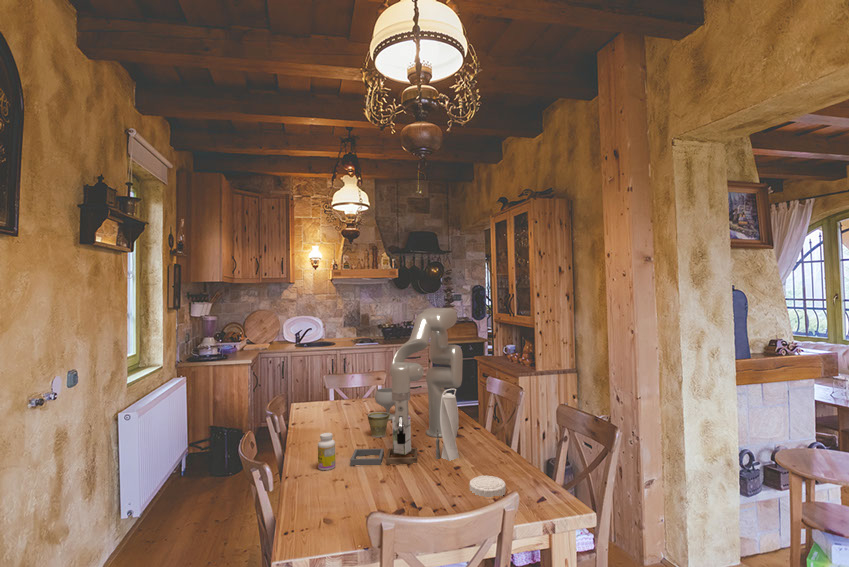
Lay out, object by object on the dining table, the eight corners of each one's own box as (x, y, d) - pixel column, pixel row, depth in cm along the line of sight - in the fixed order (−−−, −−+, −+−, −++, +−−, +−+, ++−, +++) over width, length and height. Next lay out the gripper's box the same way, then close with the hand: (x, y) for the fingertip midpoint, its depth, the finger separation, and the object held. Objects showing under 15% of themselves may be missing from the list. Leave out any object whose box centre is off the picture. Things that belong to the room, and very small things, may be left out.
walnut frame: (417, 453, 184) (417, 447, 184) (416, 464, 172) (416, 458, 172) (388, 454, 184) (388, 448, 184) (386, 465, 172) (386, 458, 172)
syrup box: (411, 450, 179) (411, 414, 180) (405, 455, 174) (404, 418, 174) (399, 449, 182) (398, 413, 182) (392, 453, 176) (391, 417, 177)
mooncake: (481, 503, 139) (481, 491, 139) (463, 488, 150) (462, 478, 150) (513, 495, 144) (512, 484, 144) (492, 482, 155) (492, 471, 155)
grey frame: (383, 454, 184) (383, 448, 184) (381, 465, 172) (381, 459, 172) (355, 455, 184) (355, 449, 184) (350, 466, 172) (350, 459, 172)
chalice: (399, 420, 235) (399, 392, 235) (373, 421, 235) (373, 392, 235) (401, 413, 249) (401, 387, 249) (376, 414, 249) (376, 387, 249)
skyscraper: (449, 454, 183) (447, 387, 184) (464, 459, 177) (462, 389, 178) (434, 460, 177) (433, 390, 178) (449, 465, 171) (448, 393, 172)
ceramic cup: (379, 440, 202) (378, 418, 203) (363, 436, 209) (363, 415, 209) (397, 433, 213) (397, 412, 213) (382, 429, 219) (381, 409, 219)
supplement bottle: (316, 466, 172) (316, 433, 173) (333, 463, 175) (333, 430, 175) (319, 472, 166) (319, 438, 167) (337, 469, 169) (336, 435, 169)
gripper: (409, 401, 170) (410, 447, 169) (410, 391, 187) (411, 433, 187) (390, 401, 170) (391, 447, 169) (393, 392, 187) (394, 434, 187)
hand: (401, 440), depth 178 cm, fingers closed on syrup box, 7 cm apart
